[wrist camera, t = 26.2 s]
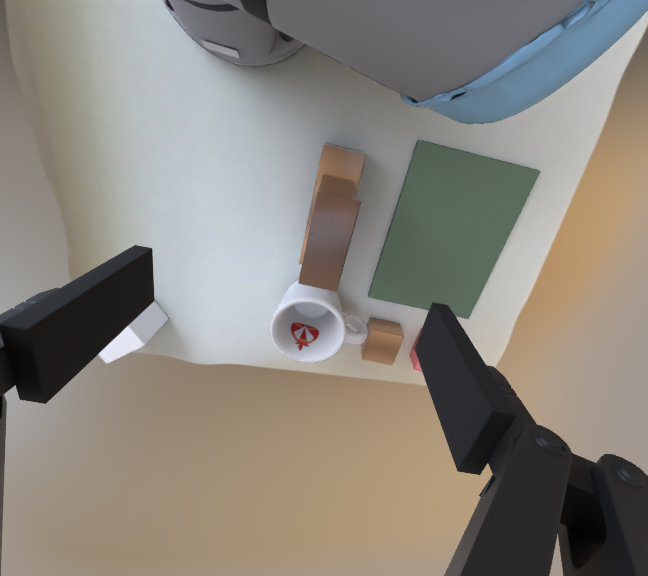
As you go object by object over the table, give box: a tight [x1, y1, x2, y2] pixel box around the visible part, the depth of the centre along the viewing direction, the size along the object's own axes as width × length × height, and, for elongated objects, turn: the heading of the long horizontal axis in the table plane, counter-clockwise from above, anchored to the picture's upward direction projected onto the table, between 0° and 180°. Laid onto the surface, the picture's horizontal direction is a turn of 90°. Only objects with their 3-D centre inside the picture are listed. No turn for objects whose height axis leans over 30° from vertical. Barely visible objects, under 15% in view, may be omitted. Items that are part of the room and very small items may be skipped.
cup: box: [270, 279, 368, 363], centre depth 37 cm, size 11×8×8 cm
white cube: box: [98, 301, 169, 363], centre depth 40 cm, size 6×6×6 cm
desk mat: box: [368, 140, 540, 319], centre depth 37 cm, size 18×13×1 cm
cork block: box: [361, 318, 404, 365], centre depth 42 cm, size 4×4×3 cm
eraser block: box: [410, 328, 422, 371], centre depth 42 cm, size 4×4×3 cm
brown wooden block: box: [298, 143, 366, 292], centre depth 30 cm, size 12×4×14 cm, turn 167°
